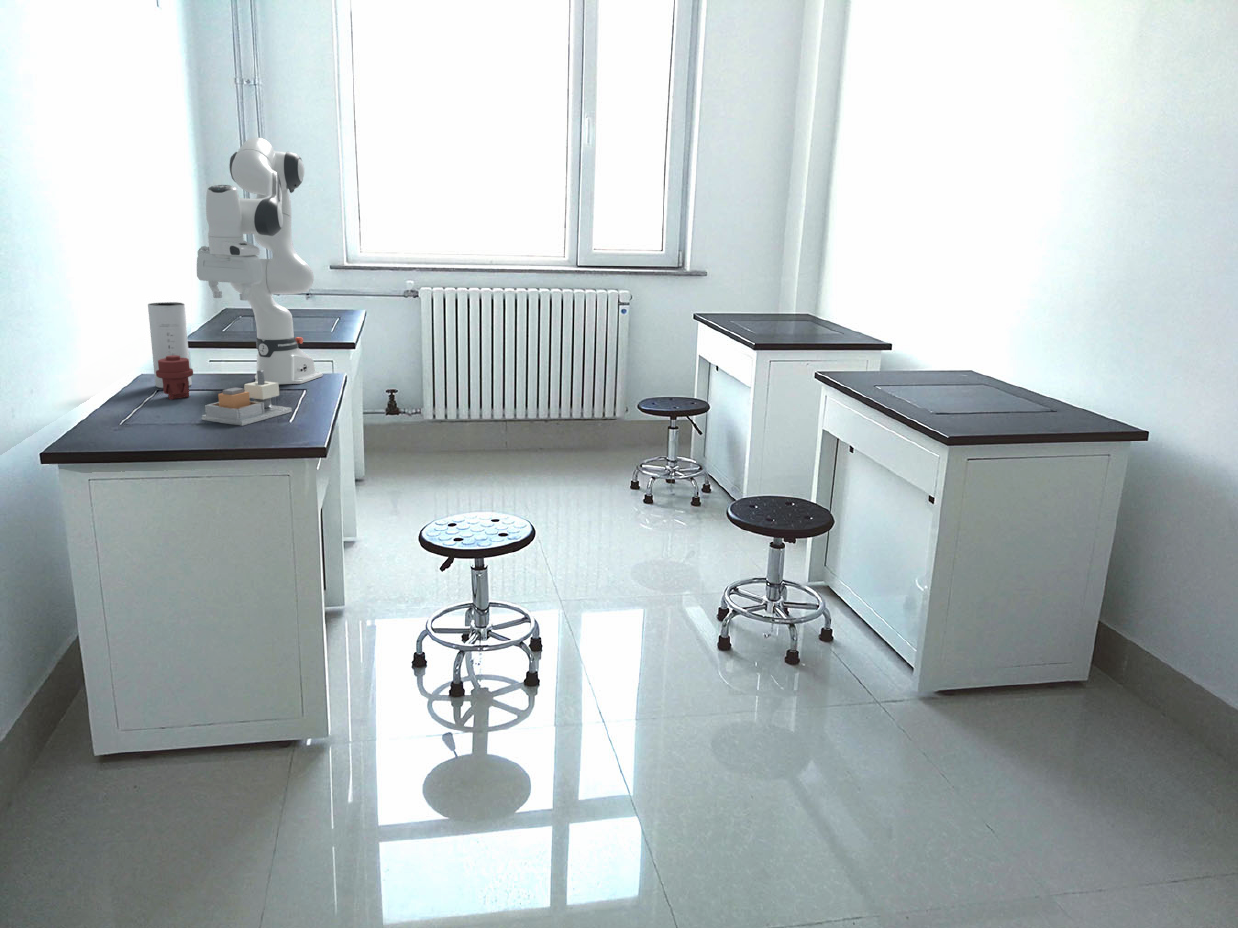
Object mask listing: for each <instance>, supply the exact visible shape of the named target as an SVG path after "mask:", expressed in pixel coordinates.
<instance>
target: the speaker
mask: <svg viewBox="0 0 1238 928" xmlns="http://www.w3.org/2000/svg"><path fill="white" fill-rule="evenodd" d="M147 309H148V321H149V329H150V330H149V331H150V343H151V353H152V363H153V373H154V374H153V375H154V384H155V387H156V388H157V389H163V381H162V378H158V377H157V376H156V371H157V370H159V367H158V360H160V359H164V358H166V356H170V355H179V356H180V358H187V359H189V360H190V353H189V352H190V351H189V342H188V333H187V332H188V330H187V328H188V327H187V319H186V307H185V303H183V302H178V301H177V302H175V301H173V302H171V301H170V302H169V301H168V302H152V303H148V304H147ZM190 364H191V363H190V361H189V366H190V367H191V365H190ZM188 381H189V387H190V386H191V385H192V376H190V377H188Z"/></svg>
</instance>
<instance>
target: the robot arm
mask: <svg viewBox="0 0 1238 928" xmlns="http://www.w3.org/2000/svg"><path fill="white" fill-rule="evenodd" d="M228 166H229V167H228V169H229V173H230V177H231V178H232V181H233V182H235V184H236V185H237V186H238V187H240V189H242V190H243V191H245V192H247V193H250V194H256V198H248V197H247V198H243V197H241V198H240V196H239V191H238V189H237V187H235V186H233V185H230V184H217V185H216V184H215V185H211V186H210V187H207V190H206V194H205V195H206V196H205V197H206V198H205V212H206V213H205V214H206V215H205V216H206V221H207V224H208V233H207V236H208V237H207V238H208V246H205V245H204V246H201V247H200V248H198V250H197V257H196V277H197V278H198V280H199V281H203V282H204V281H205V282H208V286H209V289H210V290H211V292H212V297H213V298H214V299H222V298H223V292H222V291H220V289H219V287H218V286H219V283H227V284H228V283H229V284H230V285H231V286H232V288H233V289H234V290H235V291H236V292H237V293H239V300H240V301H247V302H248V304H249V305H250V307H251V309H252V311H253V315H254V319H255V325H256V336H257V337H256V340H255V344H256V350H257V354H256V374H255V375H254V380H255V381H254V382H257V381H258V378H257V371H259V370H263V371H264V379H265V381H267V382H275V383H279V385H292V384H293V385H294V384H295V385H296V384H297V385H299V384H300V385H301V384H305V383H307V382H310V381H312V380H315V379H319V378H321V377H323V372H320V371H317V370H316V367H315V361H314V359H313V358H312V357H311V356H310V355H309V354H307V353H306V352H304V351H303V350H302V349H300V348H299V344H302V345H303V344H304V343H303V342H304V339H303V337H302V336H301V337H299V336H297V337H295V336H294V322H293V315H292V313H291V311H290V310H289V309H288V308H286V307H284V306H282V305H281V304H279V303H277V302H276V300H275V299H274V297H273V295H297V294H299V295H300V294H303V293H307V292H309V290H310V289H311V288H312V287H313V284H314V273H313V269H312V268H311V266H310V265H309V263H307V262H306V261H304V259H302V258H301V257H300V256H299V254H298V253H297V251H296V249H295V247H294V244H293V237H292V202H291V196H290V194H292V193H294V192H295V189H297V188H299V186H300V185H301V184H302V183H303V181H304V177H305V167H304V163H303V160H302V158H301V157H300V156H299V154H298V153H295V152H290V151H286V152H285V151H280V150H275V148H274V146H273V145H272V144H271V143H270V142H269V141H268V140H267V139H264V138H262V137H250V138H248V139H246V140H245V142H244V143H243V144H242V145H241V146H240V148H239V149H238V151H235V152H234V153H233V154H232V155H231V156H230V158H229V164H228ZM244 235H253V237H254V239H255V241H256V243H257V244H259V246H261V247H262V248H264V249H266V250H267V251H270V252H271V253H272V256H271V258H260V257H259V255H260V248H259V247H258V246H257V245H254V244H252V243H250V242H248V241H247V240H244Z"/></svg>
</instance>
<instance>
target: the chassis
mask: <svg viewBox="0 0 1238 928" xmlns="http://www.w3.org/2000/svg"><path fill="white" fill-rule="evenodd" d="M256 371H257V370H256ZM257 378H258V385H264V384H265V379H264V371H263V370H259V371H257ZM292 409H293V408H292V407H290V406H289V407H288V406H281V405H273V404H272V397H271V398H267V399H255V398H253V400H250V405H248V406H244V407H241V408H237V409H236V408H229V407H222V406H219V401H217V402H213V403H208V404H205V405H204V411H205V414H201V420H202V421H208V422H214V423H221V424H228V425H235V426H241V427H243V426H247V425H251V424H253V423H257V422H262V421H264V420H268V419H271V418H275V417H279V416H282V415H285V414H289V413H292V412H293V410H292Z"/></svg>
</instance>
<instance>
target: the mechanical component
mask: <svg viewBox="0 0 1238 928" xmlns="http://www.w3.org/2000/svg"><path fill="white" fill-rule="evenodd" d="M189 362H190V358H189V359H187V358H180V356H179V355H170V356H166V358H164V359H160V360H158V367H159V370H157V371H156V376H157V377H158V378H162V381H163V388H162V389H163V390H162V391H163V394H165V395H168V400H177V399H185V398H189V397H190V386H189V381H188V377H190V376H191V377H192V376H193V375H194V370H193V368H191V365H190V366H189Z"/></svg>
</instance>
